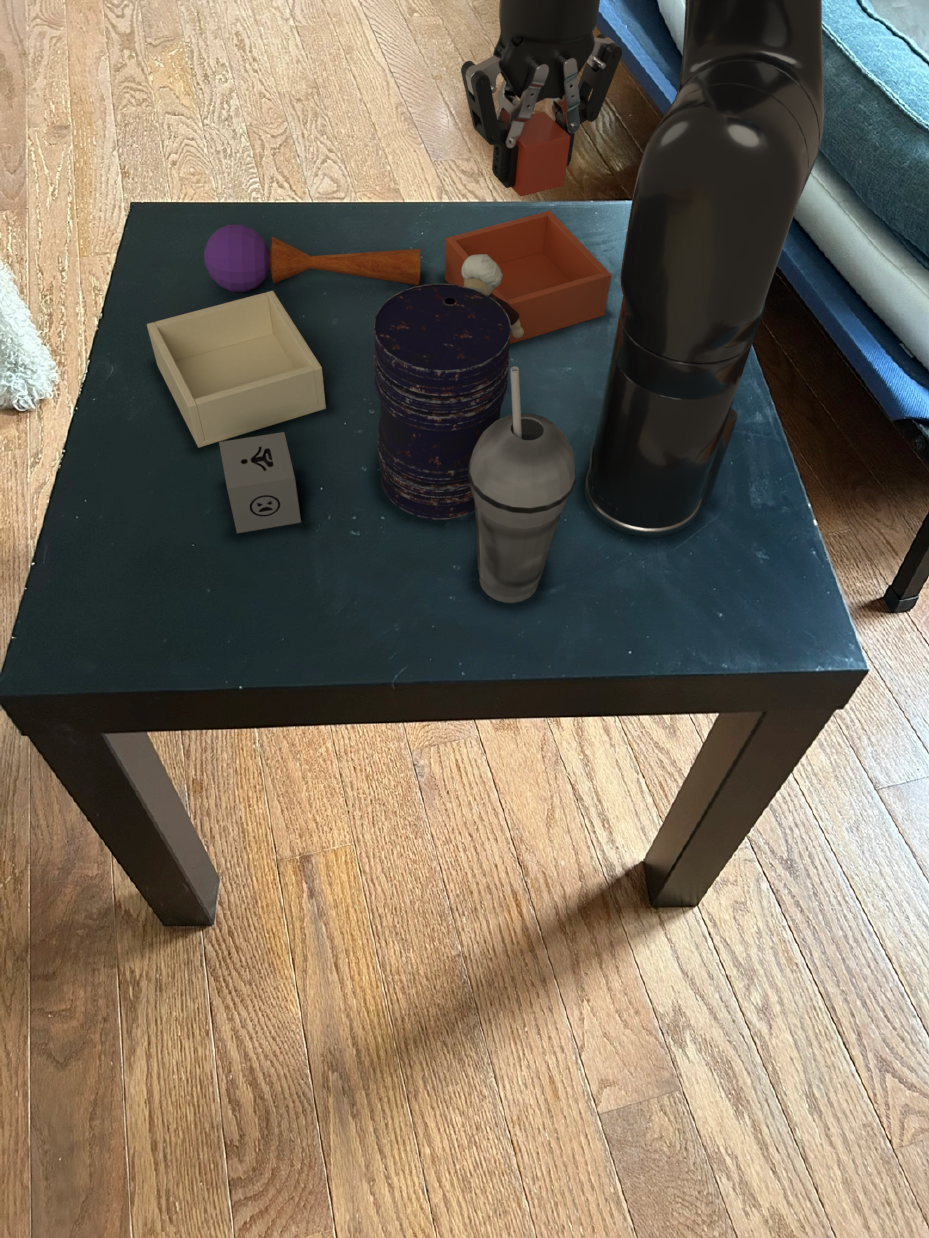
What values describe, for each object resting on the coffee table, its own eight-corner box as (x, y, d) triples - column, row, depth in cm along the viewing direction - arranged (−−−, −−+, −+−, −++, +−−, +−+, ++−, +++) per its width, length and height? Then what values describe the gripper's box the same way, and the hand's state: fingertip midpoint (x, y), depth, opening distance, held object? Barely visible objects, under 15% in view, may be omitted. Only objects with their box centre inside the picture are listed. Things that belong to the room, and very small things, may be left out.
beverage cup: (548, 626, 73) (586, 423, 57) (452, 607, 74) (462, 402, 58) (563, 552, 78) (601, 343, 61) (471, 535, 78) (486, 324, 62)
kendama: (423, 267, 92) (200, 257, 89) (417, 313, 97) (206, 304, 94) (419, 220, 94) (203, 208, 91) (414, 267, 100) (209, 257, 97)
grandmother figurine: (431, 396, 88) (433, 270, 77) (431, 367, 90) (433, 241, 80) (518, 397, 88) (532, 273, 78) (516, 368, 90) (529, 243, 80)
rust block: (538, 160, 88) (544, 111, 85) (564, 186, 86) (571, 136, 83) (495, 171, 87) (499, 121, 83) (520, 197, 85) (525, 147, 81)
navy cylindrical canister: (488, 529, 79) (501, 382, 67) (366, 511, 79) (357, 361, 67) (506, 442, 84) (521, 292, 72) (393, 425, 85) (389, 274, 73)
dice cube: (301, 522, 78) (294, 477, 74) (237, 533, 77) (227, 488, 73) (290, 477, 81) (284, 432, 77) (228, 487, 80) (218, 442, 76)
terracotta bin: (545, 251, 101) (550, 210, 97) (604, 315, 95) (612, 274, 92) (444, 278, 98) (445, 237, 94) (499, 347, 92) (503, 306, 88)
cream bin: (278, 332, 92) (272, 290, 88) (326, 408, 86) (322, 367, 82) (157, 365, 89) (146, 323, 85) (198, 448, 83) (188, 406, 79)
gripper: (493, -8, 68) (478, 218, 82) (664, -40, 73) (623, 181, 87) (443, -51, 72) (437, 173, 86) (608, -78, 77) (577, 139, 90)
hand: (530, 175), depth 86 cm, fingers closed on rust block, 4 cm apart
